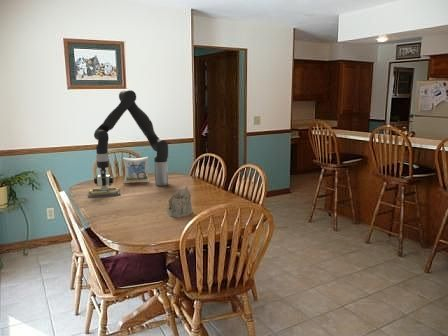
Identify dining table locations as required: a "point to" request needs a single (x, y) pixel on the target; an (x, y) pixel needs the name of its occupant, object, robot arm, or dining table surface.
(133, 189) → the dining table surface
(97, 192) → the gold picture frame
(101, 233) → the dining table surface
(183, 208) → the grey rock
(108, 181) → the pneumatic valve
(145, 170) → the pouch
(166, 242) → the dining table surface
